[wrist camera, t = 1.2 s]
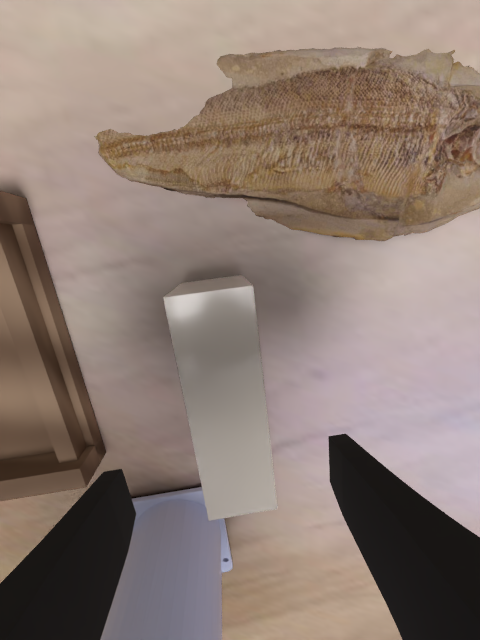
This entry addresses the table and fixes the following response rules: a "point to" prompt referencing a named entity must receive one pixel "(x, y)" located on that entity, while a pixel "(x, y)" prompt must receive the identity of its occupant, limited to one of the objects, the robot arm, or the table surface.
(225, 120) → the fish fossil
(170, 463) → the table surface
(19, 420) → the rack
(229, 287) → the clay bar
